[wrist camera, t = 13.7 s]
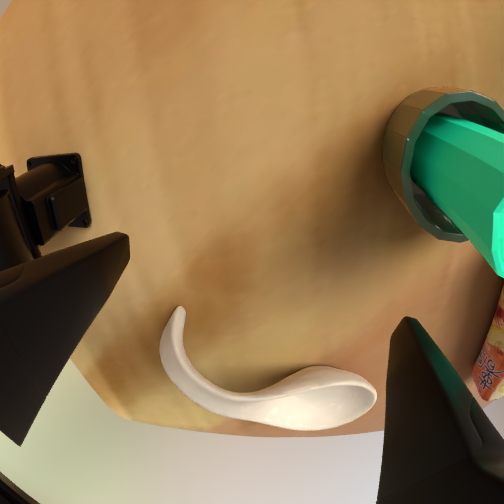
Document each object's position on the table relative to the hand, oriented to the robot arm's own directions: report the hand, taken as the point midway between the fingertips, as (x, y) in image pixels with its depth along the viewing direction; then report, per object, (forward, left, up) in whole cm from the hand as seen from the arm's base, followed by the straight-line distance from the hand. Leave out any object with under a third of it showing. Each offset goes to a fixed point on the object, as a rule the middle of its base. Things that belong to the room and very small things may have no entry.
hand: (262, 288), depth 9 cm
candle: (+11, +3, -12) cm, 17 cm away
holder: (+12, +3, -13) cm, 17 cm away
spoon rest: (+2, -20, -13) cm, 24 cm away
